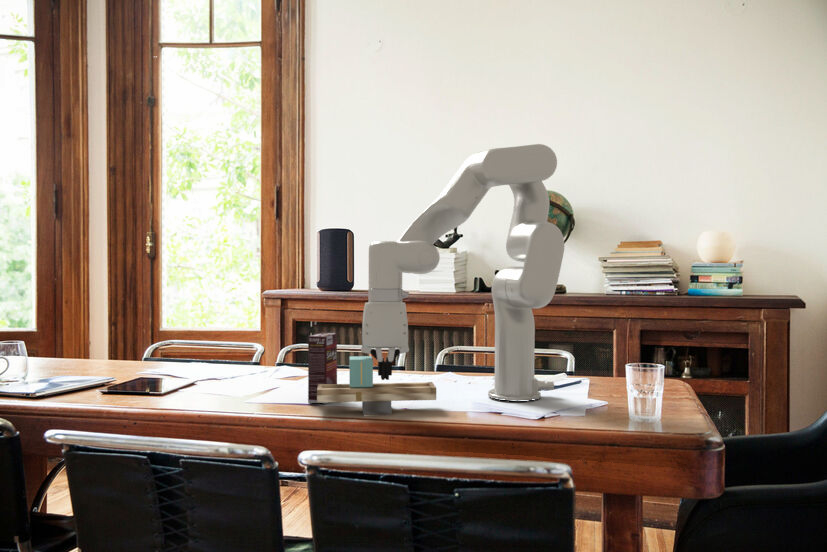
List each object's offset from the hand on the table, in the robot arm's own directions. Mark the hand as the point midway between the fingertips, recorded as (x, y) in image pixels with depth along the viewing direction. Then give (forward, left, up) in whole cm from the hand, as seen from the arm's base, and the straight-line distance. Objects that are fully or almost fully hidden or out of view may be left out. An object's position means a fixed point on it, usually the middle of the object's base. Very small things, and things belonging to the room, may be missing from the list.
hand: (384, 378), depth 156 cm
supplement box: (+14, -13, -8) cm, 20 cm away
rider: (+5, 0, -3) cm, 6 cm away
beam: (+2, 0, -7) cm, 8 cm away
